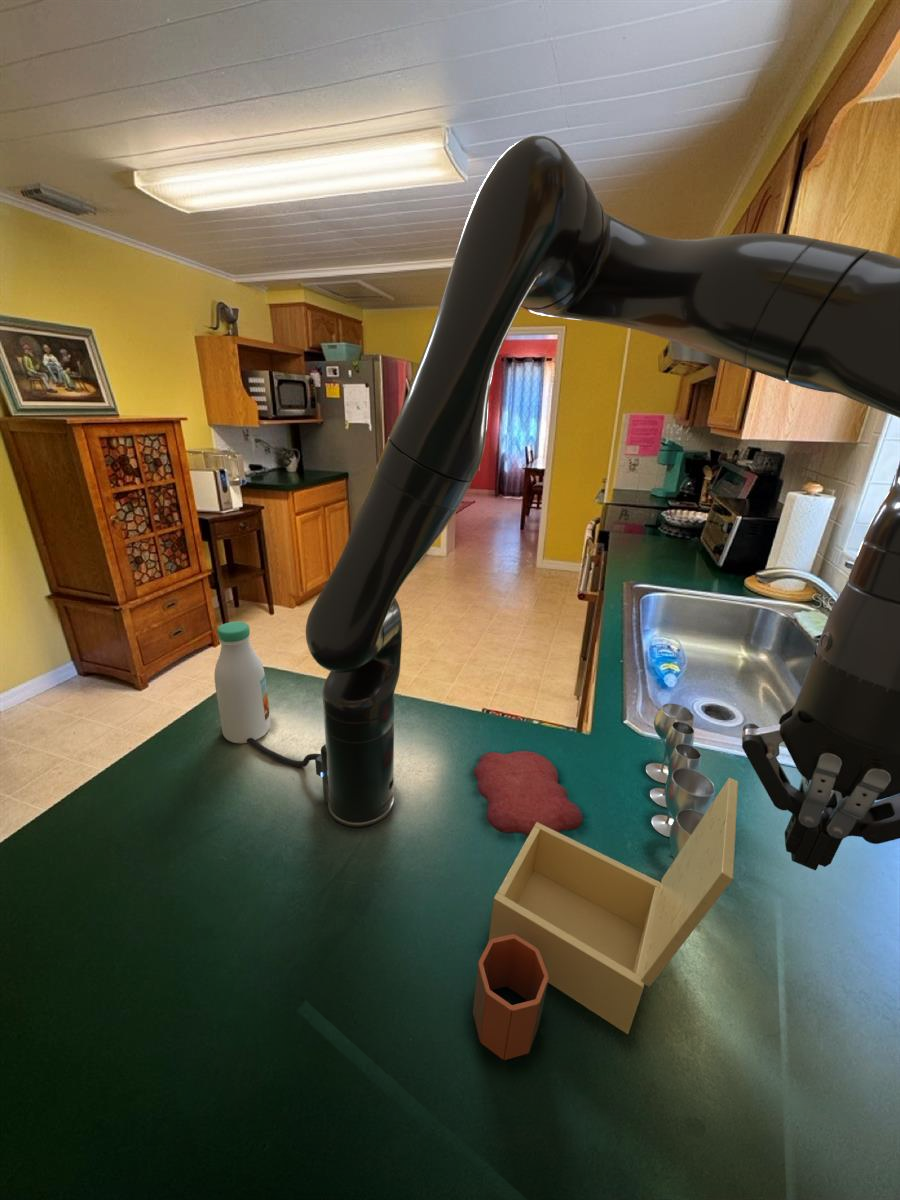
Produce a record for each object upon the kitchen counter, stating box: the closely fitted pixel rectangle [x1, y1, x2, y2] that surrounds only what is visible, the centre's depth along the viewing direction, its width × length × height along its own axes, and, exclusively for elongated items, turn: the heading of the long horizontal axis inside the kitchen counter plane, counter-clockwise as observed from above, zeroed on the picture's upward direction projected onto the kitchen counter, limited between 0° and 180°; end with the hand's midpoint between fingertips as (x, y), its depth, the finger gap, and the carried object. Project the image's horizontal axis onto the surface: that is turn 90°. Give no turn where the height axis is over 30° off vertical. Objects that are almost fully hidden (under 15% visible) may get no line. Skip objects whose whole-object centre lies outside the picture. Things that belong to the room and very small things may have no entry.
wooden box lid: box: [641, 777, 739, 988], centre depth 42 cm, size 16×12×1 cm
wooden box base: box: [487, 822, 661, 1035], centre depth 50 cm, size 15×12×8 cm
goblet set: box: [645, 703, 716, 858], centre depth 65 cm, size 28×6×13 cm, turn 161°
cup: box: [472, 934, 549, 1061], centre depth 43 cm, size 6×6×8 cm
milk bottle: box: [214, 621, 271, 744], centre depth 78 cm, size 8×8×20 cm
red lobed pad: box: [473, 750, 584, 837], centre depth 71 cm, size 18×14×2 cm
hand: (801, 857), depth 36 cm, fingers closed
